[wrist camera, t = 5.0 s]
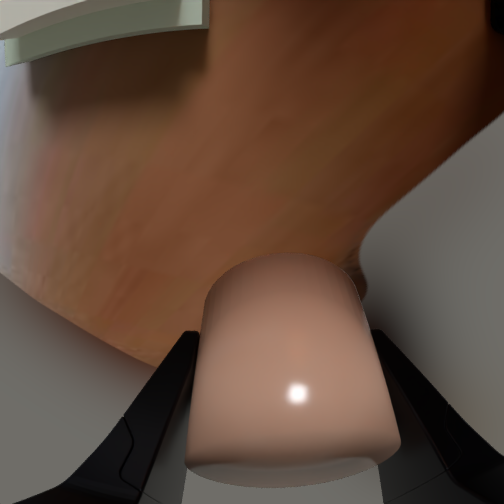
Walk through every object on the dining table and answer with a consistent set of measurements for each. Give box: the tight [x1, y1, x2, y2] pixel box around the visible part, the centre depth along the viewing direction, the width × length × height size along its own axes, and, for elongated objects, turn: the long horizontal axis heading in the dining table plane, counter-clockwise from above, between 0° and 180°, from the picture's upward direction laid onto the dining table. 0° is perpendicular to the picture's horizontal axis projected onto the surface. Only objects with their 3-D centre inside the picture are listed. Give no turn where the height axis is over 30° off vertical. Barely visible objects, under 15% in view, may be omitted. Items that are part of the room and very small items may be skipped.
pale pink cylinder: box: [184, 253, 401, 488], centre depth 8 cm, size 5×5×5 cm
